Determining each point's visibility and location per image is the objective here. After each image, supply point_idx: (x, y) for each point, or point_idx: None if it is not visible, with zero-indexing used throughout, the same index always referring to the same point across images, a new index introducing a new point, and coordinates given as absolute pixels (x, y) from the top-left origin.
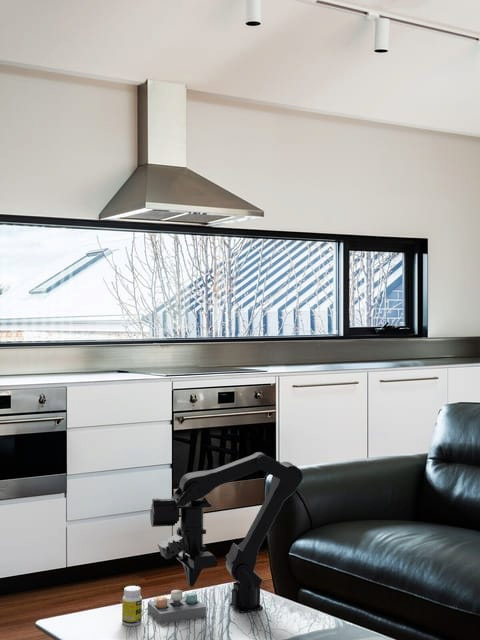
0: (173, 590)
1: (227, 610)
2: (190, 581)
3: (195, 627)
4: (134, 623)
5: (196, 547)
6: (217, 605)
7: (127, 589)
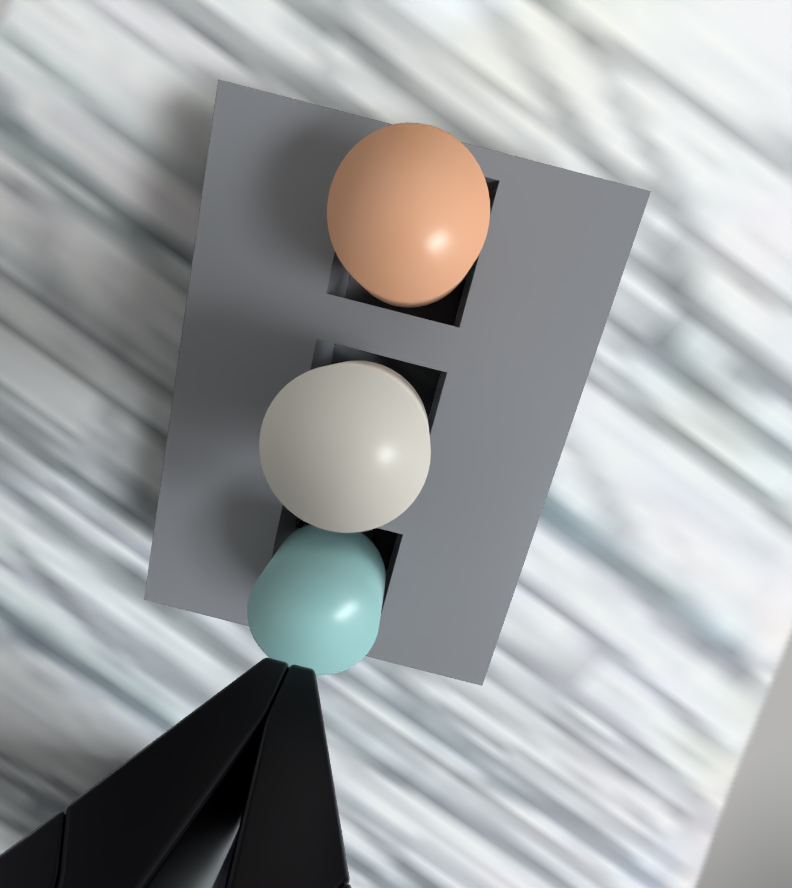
0: (416, 442)
1: None
2: (197, 723)
3: (27, 347)
4: None
5: None
6: (332, 752)
7: None
